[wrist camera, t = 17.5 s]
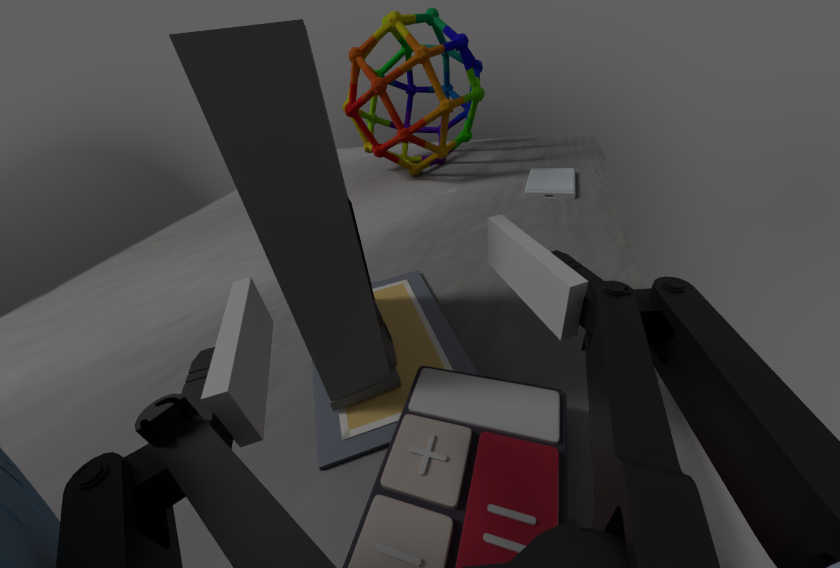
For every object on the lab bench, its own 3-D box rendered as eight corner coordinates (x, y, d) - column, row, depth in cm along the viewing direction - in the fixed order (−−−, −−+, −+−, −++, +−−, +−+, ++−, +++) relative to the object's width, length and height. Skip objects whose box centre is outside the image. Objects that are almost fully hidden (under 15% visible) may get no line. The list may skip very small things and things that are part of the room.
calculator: (320, 605, 16) (417, 357, 27) (345, 620, 19) (424, 389, 29) (573, 722, 12) (567, 383, 23) (559, 719, 15) (560, 416, 26)
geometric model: (280, 63, 63) (403, -34, 45) (369, 42, 83) (479, -32, 65) (357, 208, 77) (474, 177, 59) (417, 161, 97) (519, 127, 79)
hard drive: (530, 168, 67) (524, 191, 58) (575, 168, 65) (576, 192, 55) (530, 176, 68) (523, 200, 59) (574, 176, 66) (574, 202, 56)
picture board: (320, 470, 24) (318, 466, 24) (309, 303, 41) (308, 299, 41) (495, 406, 27) (495, 402, 27) (418, 273, 44) (418, 269, 43)
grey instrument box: (404, 386, 29) (323, 16, 14) (334, 413, 27) (164, 34, 13) (367, 298, 40) (299, 35, 25) (315, 314, 38) (211, 47, 24)
